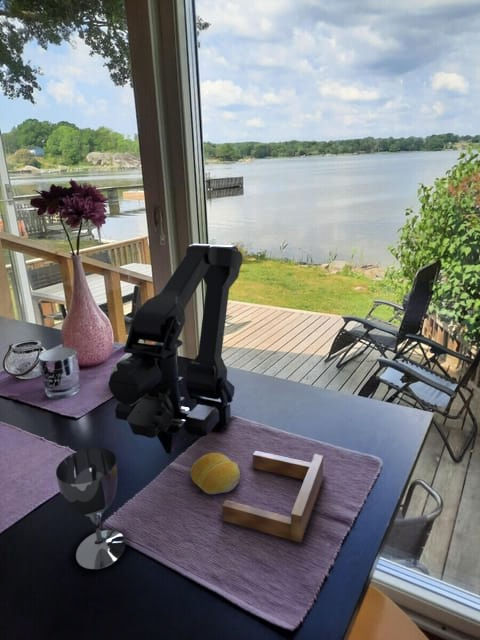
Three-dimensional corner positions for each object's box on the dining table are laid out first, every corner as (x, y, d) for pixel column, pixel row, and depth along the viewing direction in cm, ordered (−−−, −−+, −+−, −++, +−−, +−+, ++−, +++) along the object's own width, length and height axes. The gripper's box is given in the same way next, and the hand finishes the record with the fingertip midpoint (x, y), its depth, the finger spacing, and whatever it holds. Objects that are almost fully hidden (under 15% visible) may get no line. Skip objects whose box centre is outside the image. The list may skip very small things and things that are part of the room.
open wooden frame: (222, 520, 70) (221, 495, 69) (255, 463, 84) (255, 441, 82) (301, 543, 66) (301, 516, 64) (322, 479, 79) (323, 455, 77)
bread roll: (214, 503, 74) (213, 484, 73) (184, 477, 80) (182, 459, 79) (250, 481, 79) (250, 462, 78) (220, 458, 85) (219, 440, 84)
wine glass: (80, 530, 69) (65, 449, 64) (132, 526, 70) (120, 445, 65) (66, 574, 62) (47, 486, 57) (123, 569, 62) (110, 481, 57)
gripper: (88, 389, 73) (101, 468, 78) (187, 408, 67) (194, 493, 72) (128, 363, 83) (137, 434, 88) (218, 377, 76) (222, 453, 81)
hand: (170, 452), depth 82 cm, fingers closed
